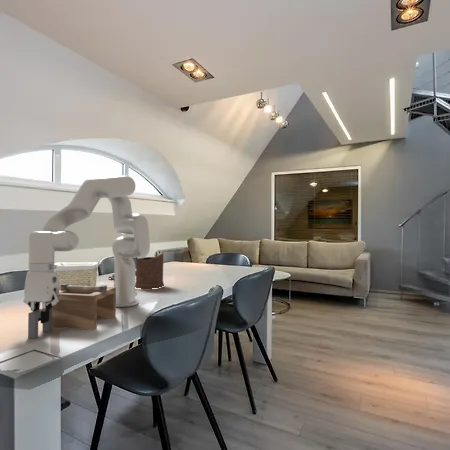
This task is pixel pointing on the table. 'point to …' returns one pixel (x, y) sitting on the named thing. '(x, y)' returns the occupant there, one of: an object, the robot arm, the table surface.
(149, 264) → the brown woven bin
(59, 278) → the storage basket
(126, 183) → the robot arm
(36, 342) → the table surface
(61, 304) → the stand
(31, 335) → the grey piece
